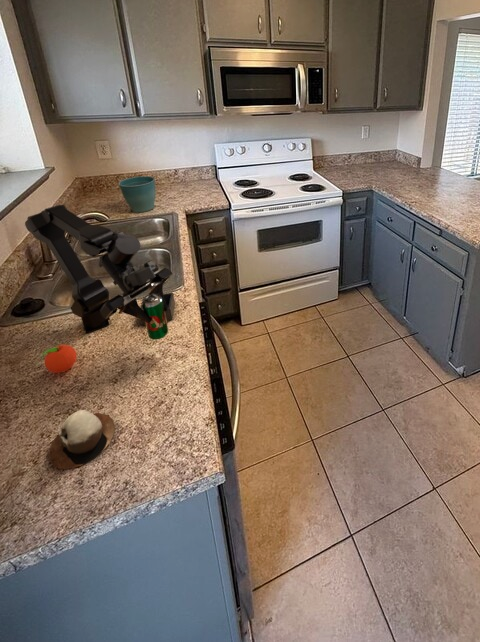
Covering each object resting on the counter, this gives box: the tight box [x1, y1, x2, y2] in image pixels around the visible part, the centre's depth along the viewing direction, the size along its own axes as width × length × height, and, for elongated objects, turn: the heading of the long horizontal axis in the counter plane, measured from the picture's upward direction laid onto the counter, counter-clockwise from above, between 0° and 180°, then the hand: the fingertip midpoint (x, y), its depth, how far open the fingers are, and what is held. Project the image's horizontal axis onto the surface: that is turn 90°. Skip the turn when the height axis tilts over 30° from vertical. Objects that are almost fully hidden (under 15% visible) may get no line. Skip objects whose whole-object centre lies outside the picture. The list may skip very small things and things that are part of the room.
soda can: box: [140, 293, 169, 341], centre depth 95 cm, size 5×5×12 cm
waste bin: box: [139, 292, 176, 326], centre depth 117 cm, size 9×9×4 cm
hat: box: [48, 409, 116, 470], centre depth 77 cm, size 12×10×10 cm
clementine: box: [39, 344, 78, 374], centre depth 95 cm, size 8×7×7 cm
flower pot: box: [118, 175, 157, 213], centre depth 201 cm, size 18×18×17 cm
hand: (158, 316), depth 95 cm, fingers closed on soda can, 5 cm apart
